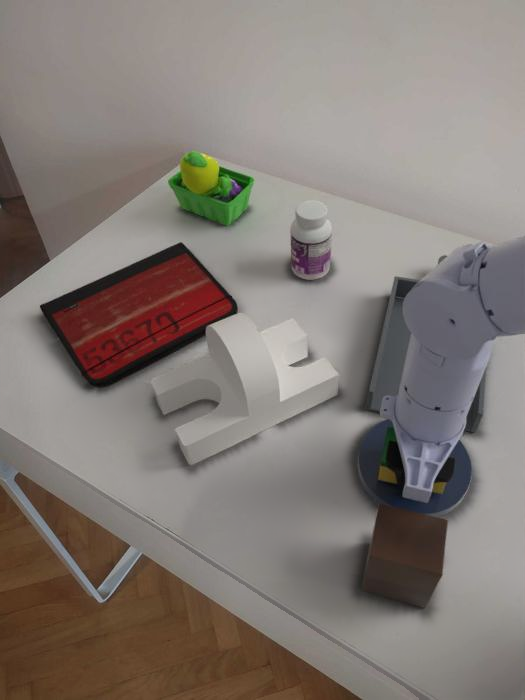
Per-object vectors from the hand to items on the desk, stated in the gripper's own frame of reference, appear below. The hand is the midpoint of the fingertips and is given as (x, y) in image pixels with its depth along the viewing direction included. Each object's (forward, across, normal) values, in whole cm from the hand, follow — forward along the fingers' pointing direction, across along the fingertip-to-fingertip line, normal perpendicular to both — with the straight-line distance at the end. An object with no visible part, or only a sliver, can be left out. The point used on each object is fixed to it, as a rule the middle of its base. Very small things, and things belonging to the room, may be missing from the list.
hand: (412, 467), depth 56 cm
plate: (+2, -1, 0) cm, 2 cm away
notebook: (+3, -14, -36) cm, 39 cm away
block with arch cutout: (+2, -5, -19) cm, 20 cm away
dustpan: (+2, -20, 0) cm, 20 cm away
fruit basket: (+3, -38, -35) cm, 51 cm away
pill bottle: (+2, -28, -17) cm, 33 cm away
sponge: (0, 0, 0) cm, 0 cm away
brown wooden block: (+2, +10, 0) cm, 10 cm away
